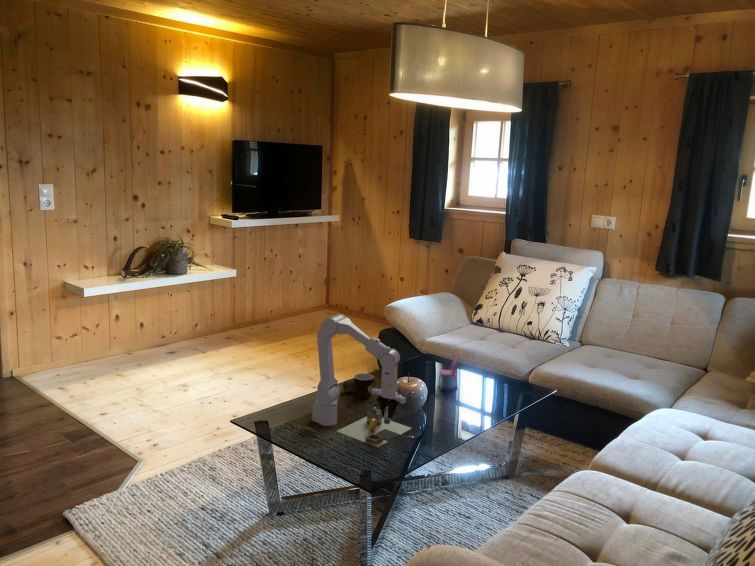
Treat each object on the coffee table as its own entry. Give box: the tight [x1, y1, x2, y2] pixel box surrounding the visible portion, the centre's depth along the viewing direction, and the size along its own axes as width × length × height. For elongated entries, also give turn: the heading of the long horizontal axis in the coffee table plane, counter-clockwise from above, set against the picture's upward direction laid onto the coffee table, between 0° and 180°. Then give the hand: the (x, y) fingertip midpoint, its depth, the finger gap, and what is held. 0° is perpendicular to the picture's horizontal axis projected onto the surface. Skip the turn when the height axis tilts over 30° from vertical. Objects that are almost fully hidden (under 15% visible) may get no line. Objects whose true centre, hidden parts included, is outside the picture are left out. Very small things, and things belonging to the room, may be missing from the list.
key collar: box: [365, 433, 384, 445], centre depth 227 cm, size 5×5×2 cm
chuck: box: [366, 406, 383, 426], centre depth 242 cm, size 6×6×6 cm
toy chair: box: [438, 356, 459, 391], centre depth 287 cm, size 8×9×15 cm
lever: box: [369, 418, 376, 432], centre depth 236 cm, size 6×3×4 cm, turn 176°
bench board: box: [336, 416, 413, 448], centre depth 237 cm, size 20×22×1 cm
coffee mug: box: [353, 372, 375, 400], centre depth 270 cm, size 12×9×10 cm
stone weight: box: [342, 377, 377, 394], centre depth 278 cm, size 15×7×7 cm, turn 123°
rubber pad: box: [376, 429, 401, 442], centre depth 232 cm, size 7×7×1 cm
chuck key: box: [383, 406, 391, 424], centre depth 230 cm, size 2×4×6 cm, turn 142°
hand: (387, 416), depth 231 cm, fingers closed on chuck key, 2 cm apart
